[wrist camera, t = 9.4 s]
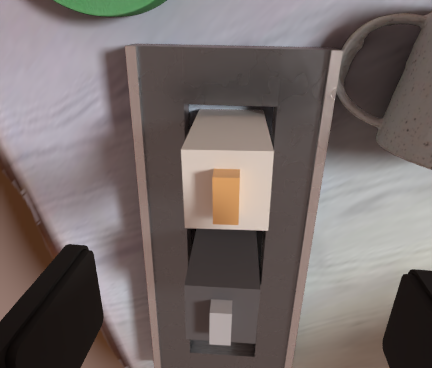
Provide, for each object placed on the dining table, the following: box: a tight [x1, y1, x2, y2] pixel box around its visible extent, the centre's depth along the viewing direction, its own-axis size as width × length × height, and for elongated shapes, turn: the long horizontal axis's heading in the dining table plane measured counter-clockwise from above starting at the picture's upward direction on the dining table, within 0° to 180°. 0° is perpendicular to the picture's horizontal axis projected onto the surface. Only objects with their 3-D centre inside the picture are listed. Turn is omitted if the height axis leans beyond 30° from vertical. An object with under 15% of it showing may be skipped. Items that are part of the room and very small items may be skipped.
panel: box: [125, 44, 343, 368], centre depth 26 cm, size 12×28×2 cm, turn 179°
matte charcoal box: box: [184, 228, 260, 346], centre depth 23 cm, size 4×4×9 cm
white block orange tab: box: [181, 109, 274, 231], centre depth 20 cm, size 4×4×9 cm
